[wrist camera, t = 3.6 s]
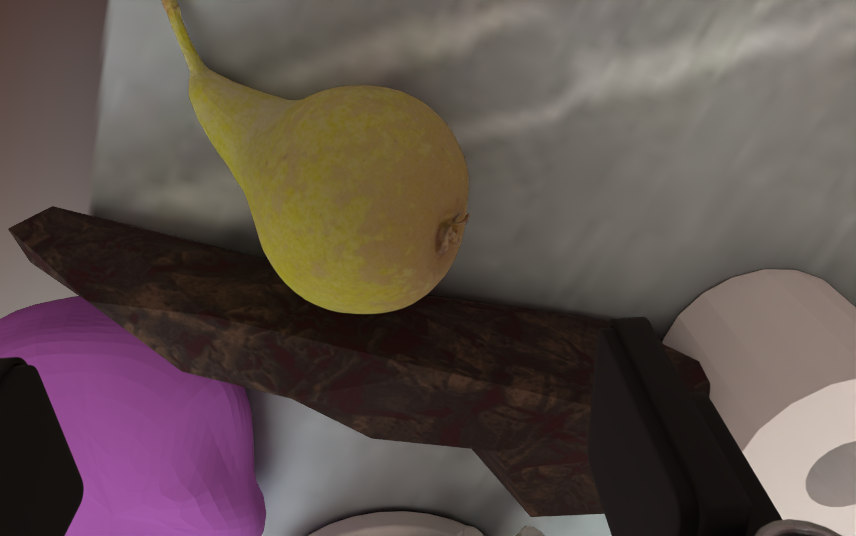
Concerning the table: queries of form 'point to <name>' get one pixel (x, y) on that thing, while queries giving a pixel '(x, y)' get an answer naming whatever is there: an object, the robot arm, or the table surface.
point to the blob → (140, 428)
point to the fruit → (339, 184)
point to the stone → (355, 352)
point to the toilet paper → (783, 385)
